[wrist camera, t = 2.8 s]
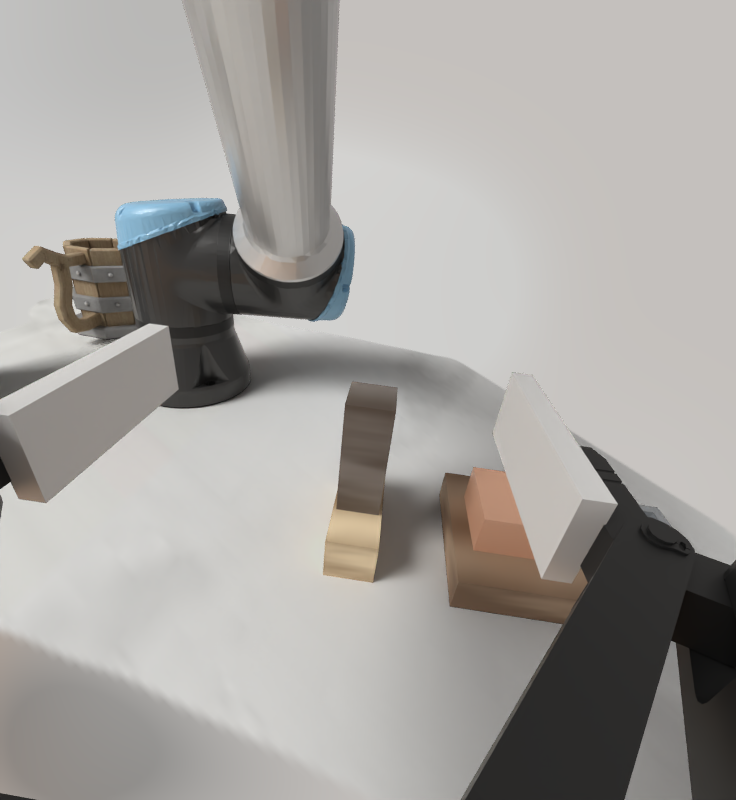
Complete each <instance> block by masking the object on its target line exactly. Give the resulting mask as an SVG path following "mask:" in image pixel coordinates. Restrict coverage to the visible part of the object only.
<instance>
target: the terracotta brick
mask: <svg viewBox="0 0 736 800" xmlns="http://www.w3.org/2000/svg"><path fill="white" fill-rule="evenodd" d="M464 498H465V504H466V510H467V516H468V522H469V528H470V533H471V539H472V545H473V550H474V551H481V552H487V553H494V554H501V555H507V556H514V557H521V558H527V559H534V556H533V553H532V550H531V547H530V544H529V541H528V538H527V535H526V532H525V529H524V526H523V523H522V520H521V517H520V514H519V511H518V508H517V505H516V502H515V499H514V496H513V493H512V490H511V487H510V484H509V481H508V478H507V475H506V472H503V471H496V470H490V469H483V468H476V467H473V470H472V473H471V476H470V479H469V482H468V486H467V489H466V492H465V495H464ZM534 560H535V559H534Z"/></svg>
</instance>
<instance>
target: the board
mask: <svg viewBox="0 0 736 800" xmlns="http://www.w3.org/2000/svg"><path fill="white" fill-rule="evenodd" d="M469 479H470V476H465V475H458V474H451V473H445V476H444V480H443V483H442V487H441V491H440V506H441V517H442V528H443V538H444V549H445V560H446V571H447V581H448V592H449V603H450V606H451V607H458V608H464V609H470V610H477V611H483V612H489V613H496V614H502V615H509V616H515V617H521V618H528V619H534V620H541V621H547V622H553V623H560V624H564V622H565V620H566V619H567V617H568V615H569V613H570V612H571V609H572V607H573V606H574V604H575V603H576V601H577V599H578V598H579V596H580V594H581V593H582V591H583V589H584V588H585V586H586V585H587V583H588V582H587V580H586V578H585V576H584V573H583V571H582V569H581V568H580V570H579V572H578V574H577V575H576V577H575V579H574V580H573V582H572V584H571V583H565V582H558V581H552V580H545V579H541V576H540V573H539V571H538V568H537V565H536V562H535V560H534V559H527V558H521V557H514V556H507V555H501V554H494V553H487V552H481V551H474V550H473V545H472V539H471V533H470V528H469V522H468V516H467V510H466V504H465V498H464V495H465V492H466V489H467V486H468V482H469Z"/></svg>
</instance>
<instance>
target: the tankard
mask: <svg viewBox="0 0 736 800" xmlns="http://www.w3.org/2000/svg"><path fill="white" fill-rule="evenodd" d="M117 246H118V239H112V238H86V239H85V238H81V239H74V240H66V241H64V242H63V248H64V251H65V254H60V253H56V252H54V251H51V250H48V249H45V248H43V247H39V246H34V247H33V248H32V249H31V250H30V251H29V252H28V253H27V254H26V255H25V256H24V257H23V258H22V259H23V261H24V262H25V263H26V264H27V265H28V266H29V267H30V268H36V269H39V268H40V266H41V265H42V264H43V263H44V262H45V263H47V264H49V265H50V266H51V271H52V275H53V280H54V307H55V310H56V313H57V316H58V318H59V320H60V321H61V322H62V323H63V324H64V325H65V326H66V327H67V328H68V329H69V330H70V331H71V332H74V333H78V334H80V335H86V336H91V337H97V338H102V339H116V338H122V337H124V336H126V335H128V334H129V333H131V332H133V331H135V330H137V327H136V322H135V317H134V313H133V309H132V304H131V300H130V295H129V290H128V286H127V281H126V277H125V272H124V268H123V263H122V259H121V254H120V250H118V247H117ZM72 280H73V284H74V287H73V284H72ZM72 299H73V300H74V303H75V306H76V308H77V309H80V310H81V312H82V313H80V314H77V315H75V312H74V309H73V306H72Z"/></svg>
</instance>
